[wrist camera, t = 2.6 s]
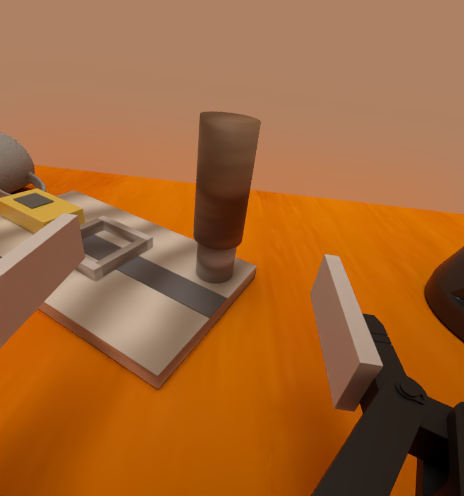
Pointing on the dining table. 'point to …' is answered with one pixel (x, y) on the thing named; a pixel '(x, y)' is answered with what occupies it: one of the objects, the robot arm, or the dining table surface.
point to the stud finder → (36, 209)
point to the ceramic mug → (15, 167)
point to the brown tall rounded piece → (222, 190)
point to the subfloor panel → (135, 289)
